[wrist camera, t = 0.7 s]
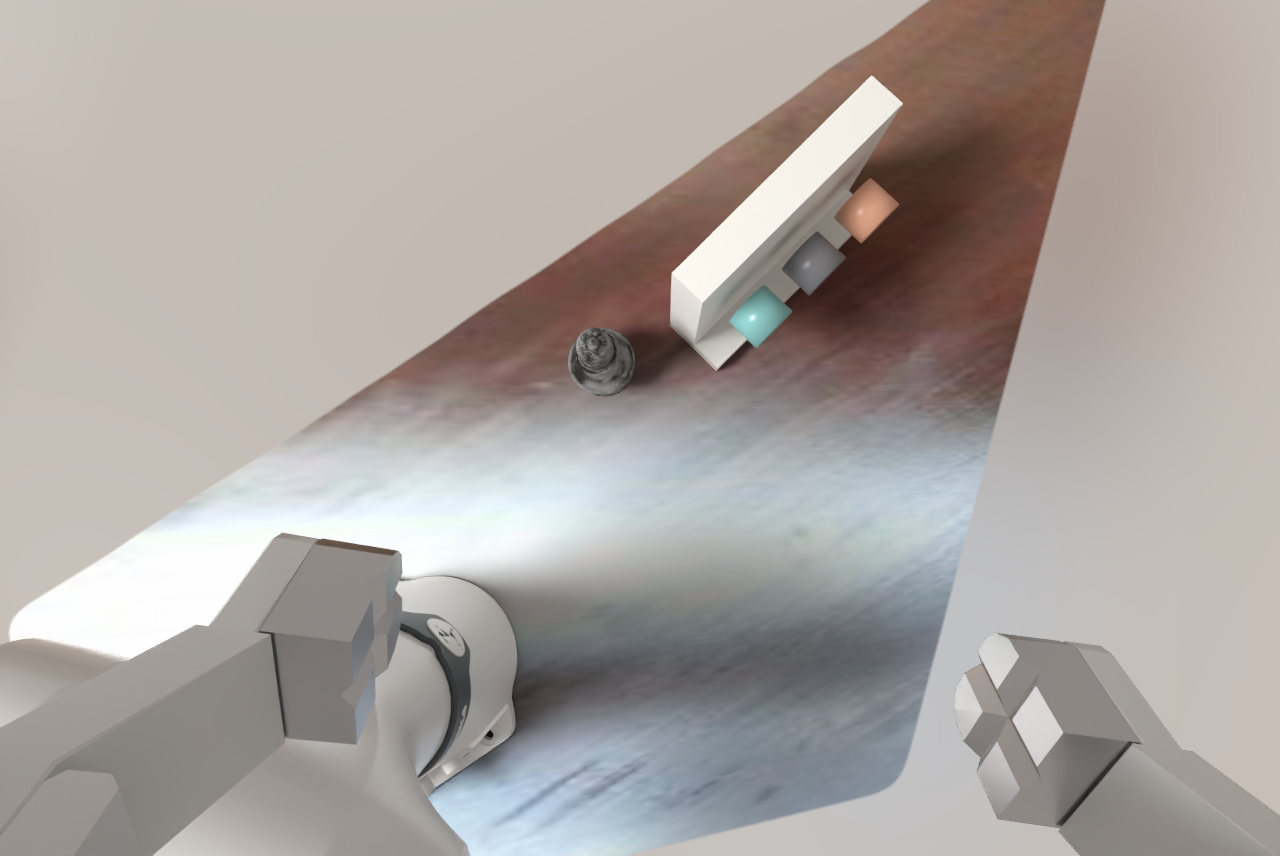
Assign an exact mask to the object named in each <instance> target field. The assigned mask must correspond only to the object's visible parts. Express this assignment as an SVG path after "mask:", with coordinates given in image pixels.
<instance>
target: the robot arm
mask: <svg viewBox="0 0 1280 856" xmlns="http://www.w3.org/2000/svg"><path fill="white" fill-rule="evenodd" d="M401 575H402V555H401V553H400V552H399V551H396V550H390V549H384V548H378V547H372V546H365V545H359V544H353V543H347V542H341V541H334V540H328V539H316V538H310V537H304V536H298V535H292V534H286V533H281V534H280V535H278V536H276V537H275V538H273V539H272V540H271V541H270V542H269V544H268V545H267V547H266V548H265V549H264V551H263V552H262V553H261V555H260V556H259V558H258V559H257V560H256V562H255V563H254V565H253V566H252V567H251V569H250V570H249V571H248V573H247V574H246V576H245V577H244V578H243V580H242V581H241V582H240V584H239V585H238V587H237V588H236V589H235V591H234V592H233V593H232V595H231V596H230V598H229V599H228V600H227V602H226V603H225V605H224V606H223V607H222V609H221V610H220V611H219V613H218V614H217V616H216V617H215V618H214V620H213V621H212V622H211V624H210V625H209V626H202V625H195V626H193V627H191V628H189V629H187V630H185V631H183V632H181V633H179V634H177V635H176V636H174V637H172V638H170V639H168V640H166V641H164V642H162V643H160V644H158V645H157V646H155V647H153V648H151V649H149V650H147V651H145V652H143V653H141V654H139V655H137V656H136V657H134V658H132V659H129V658H125V657H121V656H117V655H113V654H109V653H105V652H102V651H98V650H94V649H89V648H84V647H79V646H75V645H70V644H65V643H60V642H56V641H51V640H46V639H34V638H32V639H22V640H17V641H12V642H8V643H4V644H1V645H0V856H470V854H469V850H468V847H467V845H466V843H465V842H464V841H463V840H462V839H461V838H460V837H459V836H458V835H457V833H456V832H455V831H454V830H453V829H452V828H451V827H450V826H449V825H448V824H447V823H446V822H445V821H444V819H443V818H442V817H441V816H440V815H439V813H438V812H437V811H436V809H435V808H434V807H433V805H432V804H431V802H430V801H429V799H428V796H429V795H430V794H431V793H432V792H433V791H434V789H435V788H436V787H437V786H439V785H440V784H442V783H443V782H444V781H446V780H447V779H449V778H450V777H452V776H453V775H455V774H456V773H458V772H459V771H461V770H462V769H464V768H465V767H467V766H468V765H470V764H471V763H473V762H474V761H475V760H477V759H478V758H480V757H481V756H483V755H484V754H486V753H487V752H489V751H490V750H492V749H493V748H495V747H496V746H498V745H499V744H501V743H502V742H504V741H505V740H506V739H507V738H509V737H510V736H511V735H512V733H513V732H514V729H515V723H516V722H515V712H514V706H513V701H512V689H513V684H514V680H515V675H516V669H517V647H516V641H515V636H514V633H513V630H512V627H511V624H510V622H509V620H508V618H507V616H506V615H505V613H504V612H503V610H502V609H501V607H500V606H499V605H498V604H497V602H496V601H495V600H494V599H493V598H492V597H491V596H490V595H488V594H487V593H486V592H485V591H483V590H482V589H480V588H479V587H477V586H475V585H473V584H471V583H469V582H467V581H464V580H461V579H457V578H453V577H446V576H431V577H424V578H419V579H414V580H408V581H401V580H400V578H401ZM978 654H979V657H980V661H981V664H980V665H978V666H976V667H974V668H972V669H971V670H969V671H968V672H965V673H964V675H963V677H962V679H961V680H960V682H959V684H958V686H957V688H956V691H955V702H954V712H955V718H956V723H957V726H958V729H959V731H960V734H961V736H962V738H963V741H964V742H965V743H966V744H967V745H968V746H969V747H970V748H971V749H972V750H973V751H974V752H975V753H976V754H977V755H979V756H980V757H981V759H980V762H979V766H978V769H977V773H978V776H979V778H980V780H981V782H982V785H983V787H984V789H985V792H986V794H987V796H988V798H989V801H990V803H991V805H992V807H993V810H994V812H995V814H996V816H997V819H1000V820H1007V821H1014V822H1021V823H1027V824H1034V825H1041V826H1048V827H1055V828H1060V830H1059V831H1058V832H1059V833H1060V834H1061V835H1062V836H1063V837H1064V838H1065V839H1066V841H1068V843H1069V844H1070V845H1071V846H1072V847H1073V848H1074V849H1075V850H1076V852H1077V853H1078V854H1079V855H1080V856H1280V815H1278V814H1277V813H1276V812H1274V811H1273V810H1272V809H1270V808H1269V807H1268V806H1266V805H1265V804H1263V803H1262V802H1261V801H1259V800H1258V799H1257V798H1255V797H1254V796H1253V795H1251V794H1250V793H1248V792H1247V791H1246V790H1245V789H1243V788H1242V787H1240V786H1239V785H1238V784H1236V783H1235V782H1234V781H1232V780H1231V779H1230V778H1228V777H1227V776H1226V775H1224V774H1223V773H1222V772H1220V771H1219V770H1217V769H1216V768H1215V767H1213V766H1212V765H1211V764H1209V763H1208V762H1207V761H1205V760H1204V759H1203V758H1201V757H1200V756H1199V755H1197V754H1196V753H1194V752H1192V751H1186V750H1182V749H1181V748H1180V746H1179V745H1178V744H1177V742H1176V741H1175V740H1174V738H1173V737H1172V736H1171V734H1170V733H1169V731H1168V730H1167V729H1166V727H1165V726H1164V725H1163V723H1162V722H1161V720H1160V719H1159V718H1158V716H1157V715H1156V714H1155V712H1154V711H1153V709H1152V708H1151V707H1150V706H1149V704H1148V703H1147V701H1146V700H1145V699H1144V697H1143V696H1142V694H1141V693H1140V692H1139V691H1138V689H1137V688H1136V686H1135V685H1134V684H1133V682H1132V681H1131V679H1130V678H1129V677H1128V675H1127V674H1126V673H1125V671H1124V670H1123V668H1122V667H1121V666H1120V664H1119V663H1118V662H1117V660H1116V659H1115V657H1114V656H1113V655H1112V654H1111V653H1110V652H1108V651H1107V650H1106V649H1104V648H1103V647H1101V646H1097V645H1089V644H1081V643H1073V642H1060V641H1054V640H1047V639H1039V638H1031V637H1023V636H1016V635H1007V634H1000V633H995V634H993V635H991V636H989V637H988V638H987V639H985V641H984V642H983V644H982V645H981V647H980V649H979V650H978ZM489 730H491V731H492V732H493V737H488V736H487V735H486V733H487V732H488V731H489Z"/></svg>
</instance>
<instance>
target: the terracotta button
mask: <svg viewBox="0 0 1280 856" xmlns="http://www.w3.org/2000/svg"><path fill="white" fill-rule="evenodd" d="M898 205H899V203H898V202H897V201H896V200H895V199H893V198H892V197H891V196H890V195H889V194H888V193H887V192H886V191H885V190H884V189H883V188H881V187H880V186H879V185H878V184H877V183H876V182H875V181H874V180H873V179H872V178H870V179H868V180H867V181H866V182H865V183H864V184H863V185H862V186H861V187H860V188H859V189H858V190H857V191H856V192H855V193H854V194H853V195H852V196H851V197H850V198H849V199H848V200H847V201H846V203H845V204H844V205H843V206H842V207H841V208H840V210H839V211H838V212H837V214H836V215H835V217H834V219H835V220H836V221H837V222H838V223H839V224H840V225H842V226H843V227H844V228H845V229H846V230H847V231H848V232H849V233H850V234H851V235H852V236H853V237H854V238H856V239H857V240H858V241H859V242H860V243H863V242H864V241H865V240H866V239H867V238H868V237H869V236H870V235H871V234H872V233H873V232H874V231H875V230H876V229H877V228H878V227H879V226H880V225H881V224H882V223H883V222H884V221H885V220H886V219H887V218H888V216H889V215H890V214H891V213H892V212H893V211H894V210H895V209H896V208H897V206H898Z"/></svg>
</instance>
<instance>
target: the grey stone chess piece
mask: <svg viewBox="0 0 1280 856" xmlns="http://www.w3.org/2000/svg"><path fill="white" fill-rule="evenodd" d="M568 365H569V371H570V373H571V376H572V378H573V379H574V381H575V382H576V383H577V385H578V386H580V387H581V388H582V389H584V390H585V391H588V392H590V393H593V394H595V395H598V396H611V395H614V394H617V393H619V392H621V391H622V390H623V389H624V388H626V386H627V385H628V384H629V382H630V380H631V378H632V375H633V371H634V367H635V355H634V351H633V348H632V346H631V344H630V343H629V341H628V340H627V339H626V338H625V337H624V336H623V335H622V334H620V333H619V332H617V331H614V330H612V329H607V328H589V329H587V330H585V331H584V332H582V333H581V335H580V336H579V337H578V338H577V340H576V341H575V342H574V344H573V345H572V347H571V350H570V352H569V358H568Z"/></svg>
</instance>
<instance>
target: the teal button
mask: <svg viewBox="0 0 1280 856" xmlns="http://www.w3.org/2000/svg"><path fill="white" fill-rule="evenodd" d="M791 313H792V310H791V309H790V308H789V307H788V306H787V305H786V304H784V303H783V302H782V301H781V300H780V299H779V298H778V297H777V296H776V295H775V294H774V293H773V292H772V291H771V290H770V289H769V288H768V287H767V286H766V285H763V286H761V287H760V288H759V289H758V290H757V291H755V292H754V293H753V294H752V295H751V296H750V297H749V298H748V299H747V300H746V301H745V302H744V303H743V305H742V306H741V307H740V308H739V309H738V310H737V311H736V312H735V314H734V315H733V316H732V317H731V319H730V321H729V323H730V324H731V325H732V326H733V327H734V328H735V329H737V330H738V331H739V332H740V333H741V334H742V335H743V336H744V337H745V338H746V339H747V340H748V341H749V342H750V343H751V344H752V345H753V346H754V347H755V348H757V347H759V346H760V345H761V344H762V343H763V342H764V341H765V340H766V339H767V338H768V337H769V336H770V335H771V334H772V333H773V332H774V331H775V330H776V329H777V328H778V327H779V326H780V325H781V324H782V323H783V322H784V321H785V320H786V318H787V317H788V316H789V315H790V314H791Z"/></svg>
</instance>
